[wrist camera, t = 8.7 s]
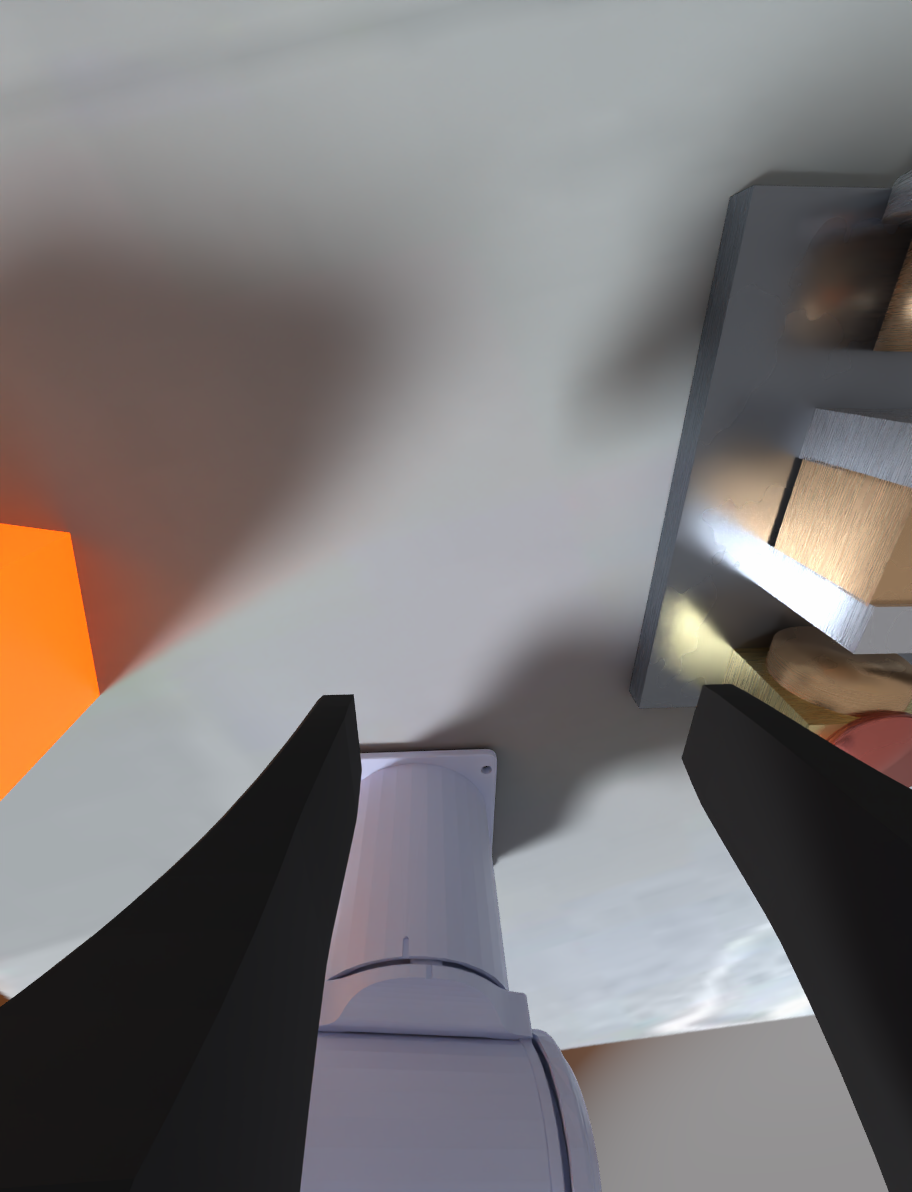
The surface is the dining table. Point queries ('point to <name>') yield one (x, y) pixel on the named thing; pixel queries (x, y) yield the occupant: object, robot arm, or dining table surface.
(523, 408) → the dining table surface
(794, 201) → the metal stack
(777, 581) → the block
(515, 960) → the dining table surface
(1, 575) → the orange juice
